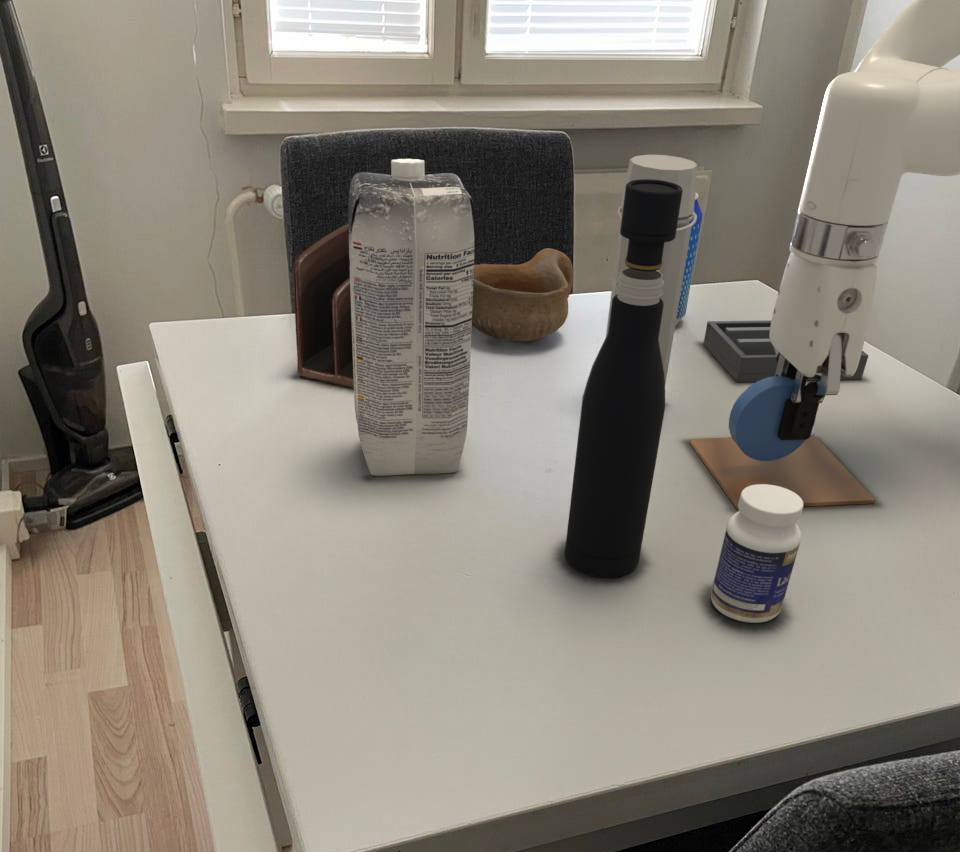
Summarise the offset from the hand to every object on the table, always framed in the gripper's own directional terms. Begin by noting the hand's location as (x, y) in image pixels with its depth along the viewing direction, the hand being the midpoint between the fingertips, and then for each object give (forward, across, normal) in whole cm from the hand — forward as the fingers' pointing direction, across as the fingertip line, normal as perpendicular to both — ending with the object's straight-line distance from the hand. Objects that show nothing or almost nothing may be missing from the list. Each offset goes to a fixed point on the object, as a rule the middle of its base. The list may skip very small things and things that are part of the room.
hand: (787, 430), depth 97 cm
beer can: (+5, +43, 0) cm, 43 cm away
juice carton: (+5, +5, +36) cm, 37 cm away
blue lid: (+2, 0, 0) cm, 2 cm away
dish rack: (+4, +28, -12) cm, 31 cm away
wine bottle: (+5, -14, +22) cm, 26 cm away
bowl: (+5, +40, +19) cm, 44 cm away
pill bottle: (+5, -22, +12) cm, 25 cm away
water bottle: (+5, +16, +11) cm, 20 cm away
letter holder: (+5, +32, +38) cm, 50 cm away
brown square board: (+4, 0, 0) cm, 4 cm away
